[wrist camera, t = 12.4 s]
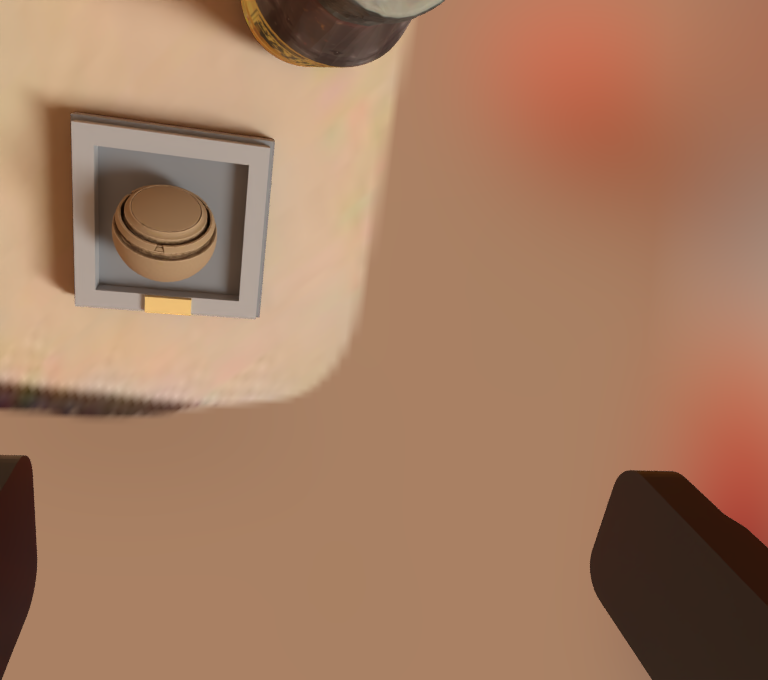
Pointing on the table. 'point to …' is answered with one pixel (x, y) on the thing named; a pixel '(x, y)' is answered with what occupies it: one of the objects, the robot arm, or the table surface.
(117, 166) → the grey square tray
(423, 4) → the sauce bottle
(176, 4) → the table surface
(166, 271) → the door knob
